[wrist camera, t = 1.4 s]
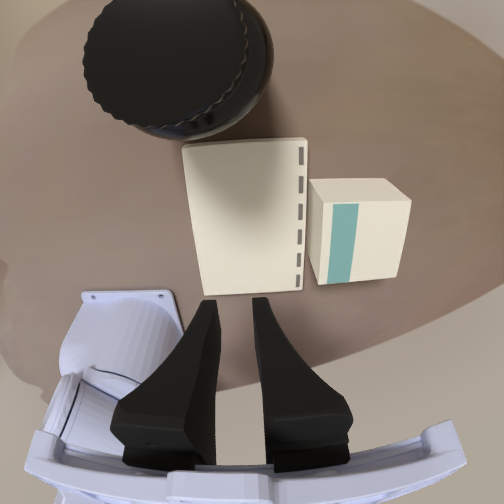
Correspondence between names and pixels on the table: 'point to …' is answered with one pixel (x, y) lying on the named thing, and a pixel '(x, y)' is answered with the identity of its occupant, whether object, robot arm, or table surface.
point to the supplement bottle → (178, 64)
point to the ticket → (248, 213)
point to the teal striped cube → (355, 229)
